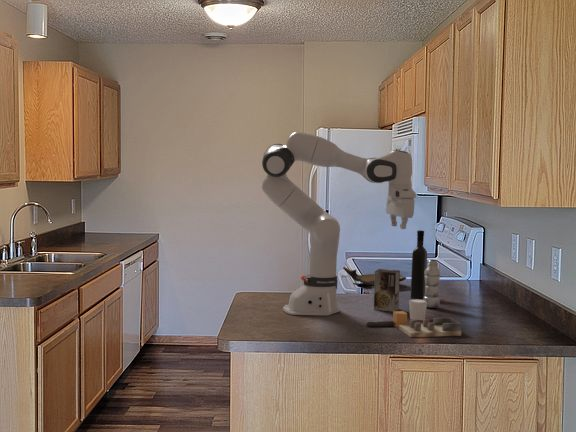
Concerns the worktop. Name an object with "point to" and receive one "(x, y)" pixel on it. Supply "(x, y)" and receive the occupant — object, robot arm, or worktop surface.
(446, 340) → the worktop surface
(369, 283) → the oil lamp
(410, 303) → the shot glass
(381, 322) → the plug
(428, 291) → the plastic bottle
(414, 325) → the board
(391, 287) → the coffee box
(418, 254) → the wine bottle
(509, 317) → the worktop surface
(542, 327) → the worktop surface
